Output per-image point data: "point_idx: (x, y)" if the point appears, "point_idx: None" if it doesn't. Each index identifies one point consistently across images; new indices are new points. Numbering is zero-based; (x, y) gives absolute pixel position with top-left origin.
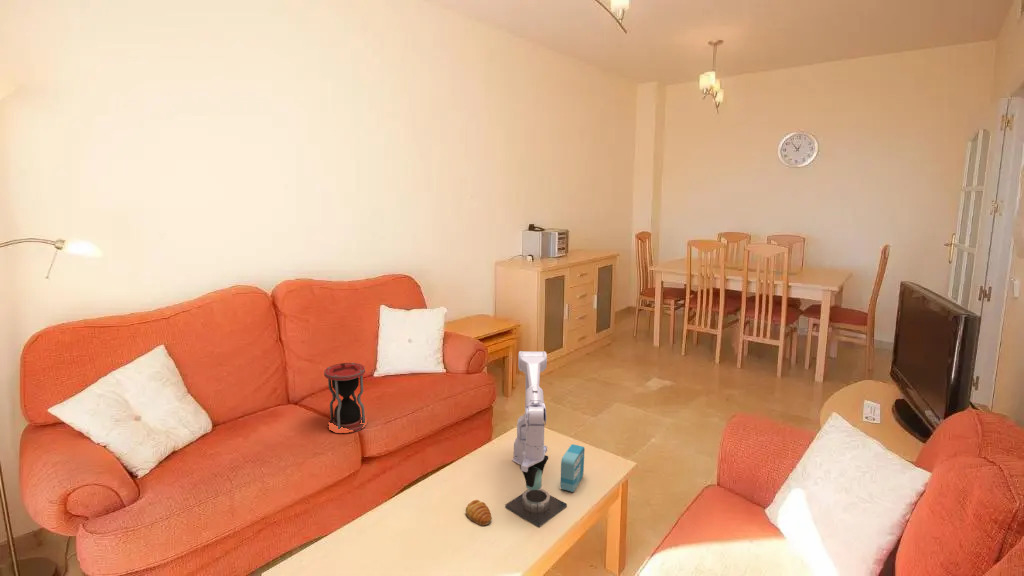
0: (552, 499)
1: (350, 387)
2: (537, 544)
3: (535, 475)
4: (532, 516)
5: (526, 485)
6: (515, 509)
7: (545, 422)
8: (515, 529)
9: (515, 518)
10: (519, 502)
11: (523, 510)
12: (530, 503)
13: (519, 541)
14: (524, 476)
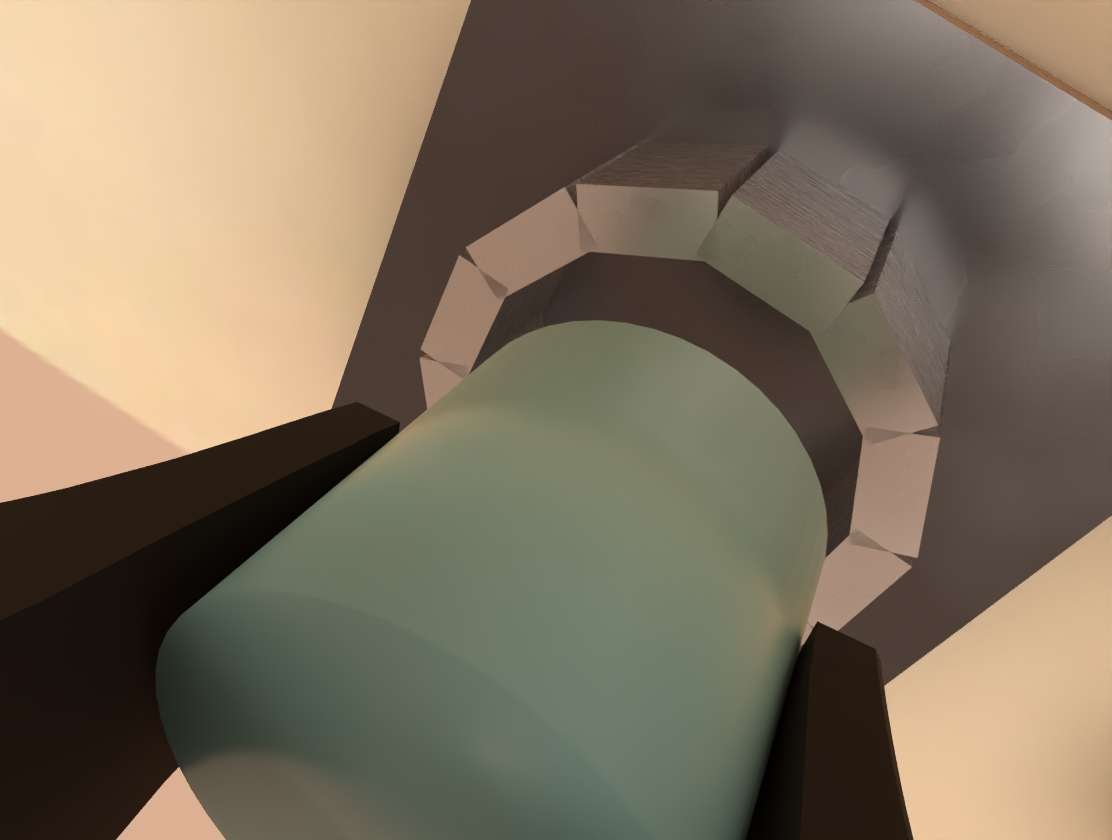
0: (878, 608)
1: None
2: (160, 384)
3: (222, 819)
4: (423, 333)
5: (489, 360)
6: (481, 46)
7: None
8: (217, 127)
9: (386, 77)
10: (690, 73)
11: (501, 189)
12: (435, 351)
13: (105, 210)
14: (41, 500)
